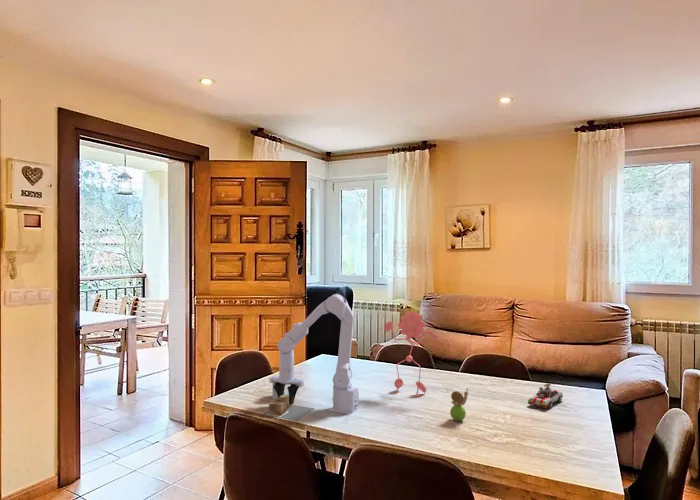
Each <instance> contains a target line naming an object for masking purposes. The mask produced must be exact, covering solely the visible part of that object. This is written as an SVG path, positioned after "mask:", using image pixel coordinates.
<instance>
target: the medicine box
mask: <svg viewBox="0 0 700 500" xmlns="http://www.w3.org/2000/svg"><path fill="white" fill-rule="evenodd" d="M277 377H279V375H278V376H277ZM274 385H275V383H274V382H272V401H274V400H275V399H276V400H279V398H278V395H277V392H276V390H275V389H274ZM289 386H290V385H288V384H285V389H284V394H288V395H289V392H288V387H289Z"/></svg>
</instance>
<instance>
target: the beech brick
mask: <svg viewBox="0 0 700 500" xmlns="http://www.w3.org/2000/svg"><path fill="white" fill-rule="evenodd" d="M279 400H285V401H287V409H289V408H290V407H292V406H294V405H295V404H294V403H295V402H294V403H293V404H289V395H288V394H284V395H282V396H280V397H279Z"/></svg>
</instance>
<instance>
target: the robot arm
mask: <svg viewBox="0 0 700 500" xmlns="http://www.w3.org/2000/svg"><path fill="white" fill-rule="evenodd" d="M329 313H332V314H333V315H335V317H337V318H338V319H339V320H340V329H339V330H340V332H339V341H338V342H339V343H338V344H339V345H338V353H337V363H336V368H335V373H334V374H333V376H332V383H333V385H332V401H333V402H332V407H331V408H330V409H328V411H329V412H336V413H341V414H346V415H352V414H354V413H355V412H356V411H357V410H359V409H360V406H359V403H360V402H359V400H360V399H359V390H358V389H359V388H357V387H356V388H355V387H353V384H352V383H351V379H352V375H353V373H352V369H351V354H352V344H353V343H352V342H353V341H352V340H353V333H354V332H353V329H354V317H355V316H354V315H355V314H354V313H353V311H352V308H351V307H350V306H349V302H348V301H347V299H346V298H345V297H344V296H343V295H341V294H339V293H333V294H332V295H331V296H329V297H327V299H326V300H324V301H323V302H321V303H320V304H319V305H318V306H316V308H315V309H314V310H313V311H312V312H311V313H309V315H308V316H307V317H306V318H305V320H303V321H302V322H300V321H299V322H297V323H294V324H293V325H292V328H291V329H290V330H288V332H285V333H284V337H282V338H280V339H279V341H278V342H277V350H278V351H279V353H278V355H279V356H278V357H279V358H278V361H279V363H278V367H279V368H278V376H279V377H278V376H271V377H269V383H270V384H273V382H274V383H275V385H274V389H275V390H276V392H277V395H278V398H279V397H280V396H282V395H284V389H285V384H288V385H289V387H288V392H289V404H293V403H295V400H296V398H295V397H296V396H297V393H298V390H299V388H302V387H304V386H305V380H302V379H298V378H295V353H294V352H295V347H296V345H298V344H299V343H300V342H301V341H302V340H303V339H304V338H305V337H306V336H307V335H309V328H310V327H311V326H312V325H313V324H315V322H316V321H317V320H318V319H319V318H320V317H321V316H322V315H326V314H329Z"/></svg>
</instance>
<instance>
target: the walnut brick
mask: <svg viewBox="0 0 700 500" xmlns="http://www.w3.org/2000/svg"><path fill="white" fill-rule="evenodd" d="M268 411H269V414H270V415H278V416H282V415H283V414H284V413H286V412H287V401H285V400H276V399H275V400H272V401H271V402H269V403H268Z"/></svg>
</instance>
